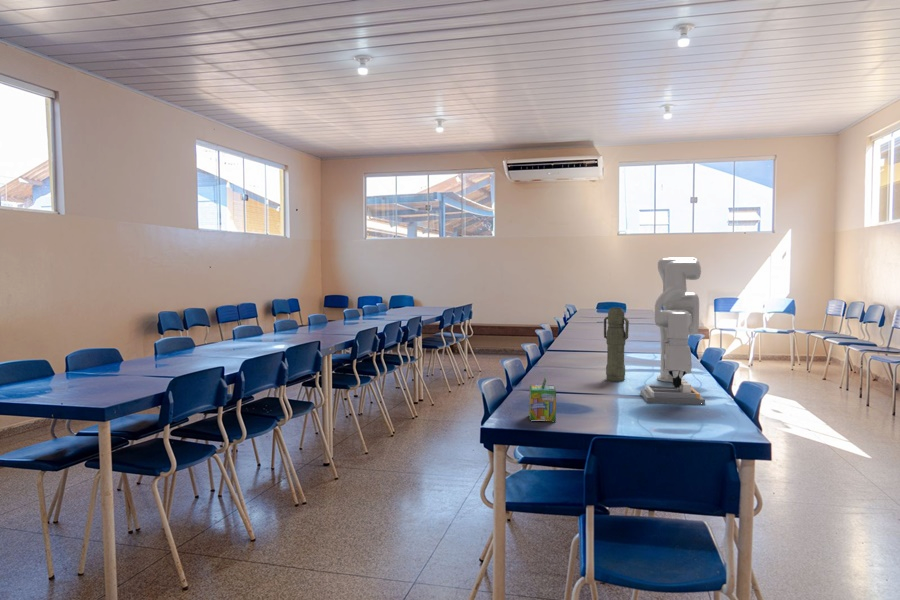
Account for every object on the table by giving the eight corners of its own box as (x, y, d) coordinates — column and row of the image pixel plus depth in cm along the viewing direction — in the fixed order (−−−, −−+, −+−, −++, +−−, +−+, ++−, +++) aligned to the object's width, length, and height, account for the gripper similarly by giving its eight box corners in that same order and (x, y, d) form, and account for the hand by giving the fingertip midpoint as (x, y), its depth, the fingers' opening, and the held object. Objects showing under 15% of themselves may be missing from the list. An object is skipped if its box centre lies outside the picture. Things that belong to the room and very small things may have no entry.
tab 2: (683, 396, 225) (683, 384, 224) (680, 394, 229) (680, 382, 229) (690, 396, 224) (691, 384, 224) (688, 394, 229) (688, 382, 228)
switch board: (646, 402, 225) (646, 392, 224) (640, 393, 240) (640, 384, 240) (705, 404, 221) (705, 394, 221) (694, 395, 236) (695, 386, 236)
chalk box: (528, 415, 207) (528, 375, 206) (554, 415, 206) (554, 376, 205) (529, 422, 197) (529, 380, 197) (556, 422, 196) (556, 381, 196)
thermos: (625, 382, 264) (626, 308, 262) (600, 380, 270) (601, 307, 268) (630, 379, 272) (631, 307, 270) (606, 377, 278) (606, 306, 276)
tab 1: (679, 393, 231) (679, 381, 230) (677, 390, 235) (677, 379, 235) (687, 393, 230) (687, 382, 230) (684, 391, 234) (685, 379, 234)
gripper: (660, 343, 224) (659, 388, 225) (699, 344, 221) (698, 389, 222) (656, 340, 231) (655, 384, 232) (694, 341, 229) (694, 385, 230)
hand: (676, 387), depth 227 cm, fingers closed
